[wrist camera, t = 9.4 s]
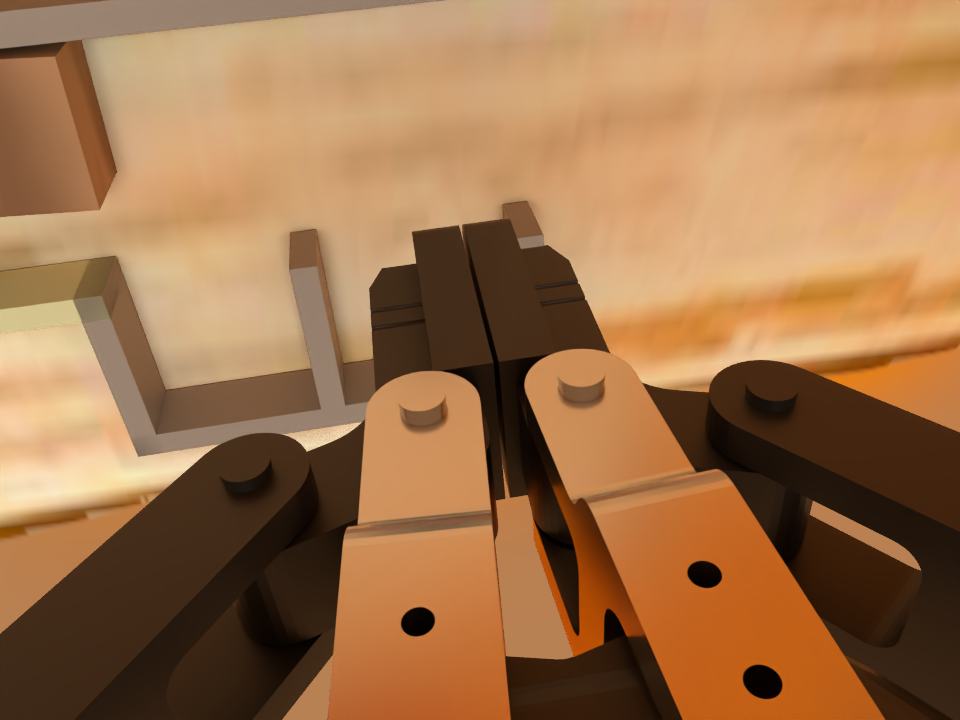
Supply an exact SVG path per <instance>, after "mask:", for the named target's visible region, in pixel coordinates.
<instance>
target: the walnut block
mask: <svg viewBox="0 0 960 720" xmlns="http://www.w3.org/2000/svg"><path fill="white" fill-rule="evenodd" d="M116 172H117V170H116V166H115V163H114V159H113V155H112V152H111V148H110V144H109V141H108V137H107V133H106V130H105V126H104V122H103V118H102V115H101V111H100V107H99V104H98V100H97V96H96V93H95V89H94V85H93V82H92V78H91V74H90V71H89V67H88V63H87V60H86V56H85V52H84V49H83V45H82V41H81V40H75V41H66V42H57V43H48V44H38V45H29V46H20V47H11V48H2V49H0V217H6V216H21V215H35V214H49V213H64V212H78V211H92V210H100V208H101V206H102V204H103V202H104V199H105V197H106V195H107V192H108V190H109V188H110V186H111V183H112V181H113V179H114V177H115V174H116Z"/></svg>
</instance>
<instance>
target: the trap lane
mask: <svg viewBox="0 0 960 720" xmlns="http://www.w3.org/2000/svg"><path fill="white" fill-rule="evenodd" d="M433 1H442V0H0V49H2V48H11V47H20V46H29V45H38V44H48V43H57V42H66V41H75V40H84V39H94V38H103V37H112V36H121V35H130V34H139V33H149V32H158V31H167V30H176V29H185V28H195V27H204V26H213V25H222V24H231V23H240V22H250V21H259V20H268V19H277V18H286V17H296V16H305V15H314V14H323V13H332V12H341V11H351V10H360V9H369V8H378V7H387V6H396V5H406V4H415V3H424V2H433ZM503 218H504V219H508V218H509V219H510V220H511V223H512V226H513V228H514V231H515V234H516V237H517V239H518V242H519V245H520V248H521V249H525V248H532V247H539V246H544V236H543V233H542V231H541V229H540V227H539V225H538V223H537V221H536V218H535V216H534V214H533V212H532V210H531V208H530V206H529V204H528V202H527V201H525V202H518V203H510V204H503ZM289 271H290V276H291V280H292V284H293V289H294V293H295V298H296V302H297V306H298V311H299V315H300V319H301V324H302V328H303V332H304V337H305V341H306V345H307V350H308V354H309V358H310V363H311V367H312V369H307V370H300V371H293V372H287V373H280V374H273V375H267V376H260V377H253V378H247V379H240V380H233V381H226V382H220V383H213V384H206V385H200V386H193V387H186V388H179V389H173V390H165V387H164V385H163V382H162V379H161V377H160V374H159V371H158V368H157V366H156V363H155V360H154V358H153V355H152V352H151V349H150V347H149V344H148V341H147V339H146V336H145V333H144V330H143V328H142V325H141V322H140V320H139V317H138V314H137V312H136V309H135V306H134V303H133V301H132V298H131V295H130V293H129V290H128V287H127V284H126V282H125V279H124V276H123V274H122V271H121V268H120V265H119V263H118V260H117V257H116V256H113V257H106V258H98V259H91V260H83V261H76V262H68V263H61V264H53V265H46V266H38V267H31V268H23V269H16V270H8V271H1V272H0V334H7V333H14V332H21V331H28V330H35V329H42V328H49V327H56V326H64V325H71V324H78V323H83V326H84V328H85V330H86V333H87V335H88V338H89V340H90V342H91V345H92V347H93V349H94V352H95V354H96V357H97V359H98V361H99V364H100V366H101V369H102V371H103V373H104V376H105V378H106V380H107V383H108V385H109V388H110V390H111V392H112V395H113V397H114V400H115V402H116V404H117V407H118V409H119V411H120V414H121V416H122V419H123V421H124V423H125V426H126V428H127V431H128V433H129V435H130V438H131V440H132V442H133V445H134V447H135V450H136V452H137V454H138V457H139V456H146V455H152V454H159V453H165V452H171V451H178V450H184V449H191V448H197V447H204V446H210V445H216V444H222V443H224V442H226V441H229V440H231V439H234V438H237V437H240V436H244V435H248V434H254V433H276V434H287V433H293V432H300V431H306V430H312V429H319V428H325V427H332V426H338V425H344V424H351V423H357V422H363V421H364V420H365V418H366V409H367V405H368V403H369V401H370V399H371V398H372V396H373V395H374V394H375V376H374V360H367V361H360V362H354V363H347V364H343V362H342V357H341V352H340V347H339V342H338V337H337V332H336V327H335V322H334V317H333V312H332V307H331V302H330V297H329V293H328V288H327V283H326V278H325V273H324V268H323V263H322V258H321V253H320V248H319V243H318V238H317V233H316V230H308V231H301V232H293V233H290V258H289Z"/></svg>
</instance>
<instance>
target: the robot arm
mask: <svg viewBox="0 0 960 720" xmlns="http://www.w3.org/2000/svg"><path fill="white" fill-rule="evenodd" d="M462 234H463V240H462V236H461V232H460V228H459V225H458V226H450V227H443V228H436V229H429V230H421V231H414V232H412V236H413V243H414V250H415V257H416V264H411V265H404V266H396V267H389V268H382V269H381V271H380V273H379V274H378V276H377V277H376V279H375V280H374V282H373V284H372V285H371V287H370V288H369V292H370V309H371V325H372V342H373V359H374V376H375V394H374V395H373V396H372V398H371V399H370V401H369V403H368V405H367V409H366V418H365V420H364V421H363V422H362V423H361V424H360V425H359V426H358V427H356V428H355V429H354V430H352V431H351V432H350V433H348V434H346V435H345V436H343V437H341V438H339V439H337V440H335V441H333V442H331V443H328V444H326V445H323V446H321V447H318V448H316V449H313V450H310V451H308V452H306V450H305V449H304V447H303V446H302V445H301V444H300V443H299V442H297V441H296V440H294V439H292V438H290V437H288V436H285V435H281V434H276V433H254V434H248V435H244V436H240V437H237V438H234V439H231V440H229V441H226V442H224V443H222V444H220V445H218V446H217V447H215V448H213V449H212V450H210V451H209V452H208V453H207V454H205V455H204V456H203V457H202V458H200V459H199V460H198V461H197V462H196V463H195V464H194V465H193V466H191V467H190V468H189V469H188V470H187V471H186V472H185V473H183V474H182V475H181V476H180V477H179V478H178V479H177V480H175V481H174V482H173V483H172V484H171V485H170V486H169V487H167V488H166V489H165V490H164V491H163V492H162V493H161V494H159V495H158V496H157V497H156V498H155V499H154V500H153V501H151V502H150V503H149V504H148V505H147V506H146V507H145V508H143V510H141V511H140V512H139V513H138V514H137V515H136V516H134V517H133V518H132V519H131V520H130V521H129V522H128V523H126V524H125V525H124V526H123V527H122V528H121V529H120V530H118V531H117V532H116V533H115V534H114V535H113V536H111V537H110V538H109V539H108V540H107V541H106V542H105V543H103V544H102V545H101V546H100V547H99V548H98V549H97V550H96V551H94V552H93V553H92V554H91V555H90V556H89V557H88V558H86V559H85V560H84V561H83V562H82V563H81V564H80V565H78V566H77V567H76V568H75V569H74V570H73V571H72V572H70V573H69V574H68V575H67V576H66V577H65V578H64V579H63V580H61V581H60V582H59V583H58V584H57V585H56V586H54V587H53V588H52V589H51V590H50V591H49V592H48V593H46V594H45V595H44V596H43V597H42V598H41V599H40V600H38V602H36V603H35V604H34V605H33V606H32V607H31V608H29V609H28V610H27V611H26V612H25V613H24V614H23V615H21V616H20V617H19V618H18V619H17V620H16V621H15V622H13V623H12V624H11V625H10V626H9V627H8V628H7V629H6V630H4V631H3V632H2V633H1V634H0V720H282V719H283V718H284V716H285V715H286V714H287V712H288V711H289V710H290V709H291V707H292V706H293V705H294V704H295V702H296V701H297V699H298V698H299V697H300V696H301V695H302V693H303V692H304V691H305V690H306V688H307V687H308V685H309V684H310V683H311V682H312V681H313V679H314V678H315V677H316V676H317V674H318V673H319V672H320V670H321V669H322V668H323V666H324V665H325V664H326V663H327V661H328V660H329V659H330V658H331V656H332V655H333V662H332V674H331V685H330V697H329V708H328V719H327V720H960V433H959V432H957V431H955V430H952V429H949V428H947V427H945V426H942V425H940V424H937V423H935V422H932V421H930V420H927V419H925V418H922V417H920V416H918V415H915V414H913V413H910V412H908V411H905V410H903V409H900V408H898V407H895V406H893V405H891V404H888V403H886V402H883V401H881V400H878V399H876V398H873V397H871V396H868V395H866V394H863V393H861V392H859V391H856V390H853V389H851V388H848V387H846V386H844V385H841V384H839V383H836V382H834V381H831V380H829V379H827V378H824V377H822V376H819V375H817V374H814V373H812V372H809V371H807V370H804V369H802V368H799V367H797V366H794V365H791V364H787V363H783V362H777V361H770V360H754V361H746V362H740V363H737V364H734V365H731V366H729V367H727V368H725V369H723V370H722V371H721V372H719V373H718V374H717V375H716V376H715V377H714V378H713V380H712V382H711V384H710V388H709V393H707V392H693V391H679V390H669V389H662V388H658V387H653V386H650V385H647V384H644V383H642V382H641V380H640V379H639V377H638V375H637V374H636V372H635V371H634V369H633V368H632V367H631V366H630V365H629V364H628V363H627V362H626V361H624V360H622V359H621V358H619V357H617V356H615V355H613V354H610V352H609V350H608V348H607V345H606V343H605V341H604V339H603V336H602V334H601V332H600V329H599V327H598V325H597V323H596V320H595V318H594V316H593V314H592V311H591V309H590V307H589V305H588V302H587V300H585V296H584V293H583V291H582V289H581V287H580V284H578V280H577V278H576V275H575V273H574V271H573V268H572V266H571V264H570V262H569V260H568V259H566V258H565V257H563V256H562V255H561V254H559V253H558V252H557V251H555V250H554V249H552V248H551V247H550V246H548V245H546V246H539V247H532V248H525V249H521V248H520V245H519V242H518V239H517V237H516V234H515V231H514V228H513V226H512V223H511V220H510V219H509V218H508V219H500V220H493V221H486V222H479V223H471V224H464V225H462ZM502 464H503V468H502ZM503 469H504V473H505V478H506V482H507V486H508V491H509V495H510V498H511V497H518V496H523V495H528V497H529V501H530V505H531V509H532V517H533V534H534V542H535V546H536V549H537V552H538V554H539V557H540V560H541V563H542V566H543V568H544V572H545V575H546V577H547V580H548V583H549V586H550V589H551V592H552V595H553V597H554V600H555V603H556V606H557V609H558V612H559V615H560V618H561V621H562V623H563V626H564V629H565V632H566V635H567V638H568V641H569V644H570V646H571V649H572V652H573V656H574V657H572V658H568V659H563V660H562V659H561V660H560V659H559V660H554V659H539V658H524V657H508V656H506V649H505V639H504V630H503V619H502V608H501V599H500V588H499V578H498V568H497V557H496V548H495V539H496V536H497V532H498V519H497V508H496V500H500V499H505V490H504V479H503ZM813 501H815V502H817V503H819V504H821V505H823V506H825V507H827V508H829V509H831V510H834V511H835V512H837V513H839V514H841V515H843V516H845V517H847V518H849V519H851V520H853V521H855V522H857V523H859V524H861V525H863V526H865V527H867V528H869V529H871V530H873V531H875V532H877V533H879V534H881V535H883V536H885V537H887V538H889V539H891V540H893V541H895V542H897V543H898V544H900V545H901V546H903V547H904V548H906V549H907V550H908V551H909V552H910V553H911V554H912V555H913V556H914V558H915V559H916V560H917V562H918V564H919V566H920V568H921V571H920V570H917V569H914V568H912V567H910V566H908V565H906V564H904V563H902V562H900V561H899V560H897V559H895V558H893V557H891V556H889V555H887V554H885V553H883V552H881V551H879V550H877V549H875V548H873V547H871V546H869V545H867V544H865V543H863V542H861V541H859V540H857V539H856V538H853V537H851V536H850V535H848V534H846V533H844V532H842V531H840V530H838V529H836V528H834V527H832V526H830V525H828V524H826V523H824V522H822V521H820V520H818V519H816V518H815V517H813V516H811V515H810V510H811V506H812V502H813Z"/></svg>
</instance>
